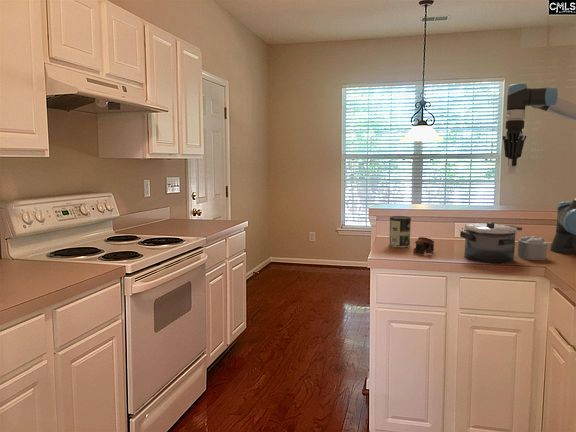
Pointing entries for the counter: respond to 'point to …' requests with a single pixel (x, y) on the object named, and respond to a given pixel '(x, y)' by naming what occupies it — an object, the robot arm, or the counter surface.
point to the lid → (492, 228)
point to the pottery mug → (424, 245)
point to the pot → (489, 247)
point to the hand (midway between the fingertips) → (511, 173)
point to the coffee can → (399, 231)
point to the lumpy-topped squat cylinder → (532, 248)
